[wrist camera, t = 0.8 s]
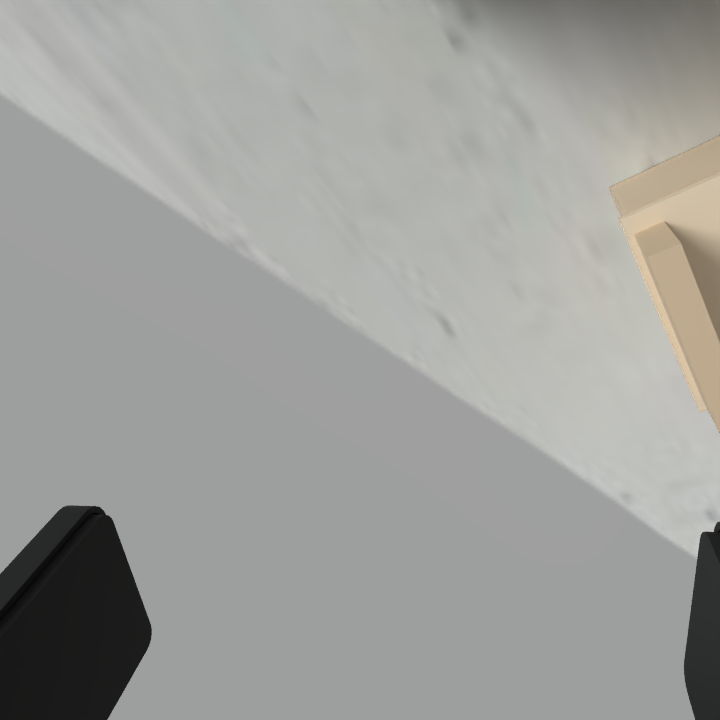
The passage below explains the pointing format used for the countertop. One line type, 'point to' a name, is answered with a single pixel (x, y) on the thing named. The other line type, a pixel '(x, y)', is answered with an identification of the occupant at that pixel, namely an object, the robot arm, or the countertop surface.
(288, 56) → the countertop surface
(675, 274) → the lid
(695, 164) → the mailer box
